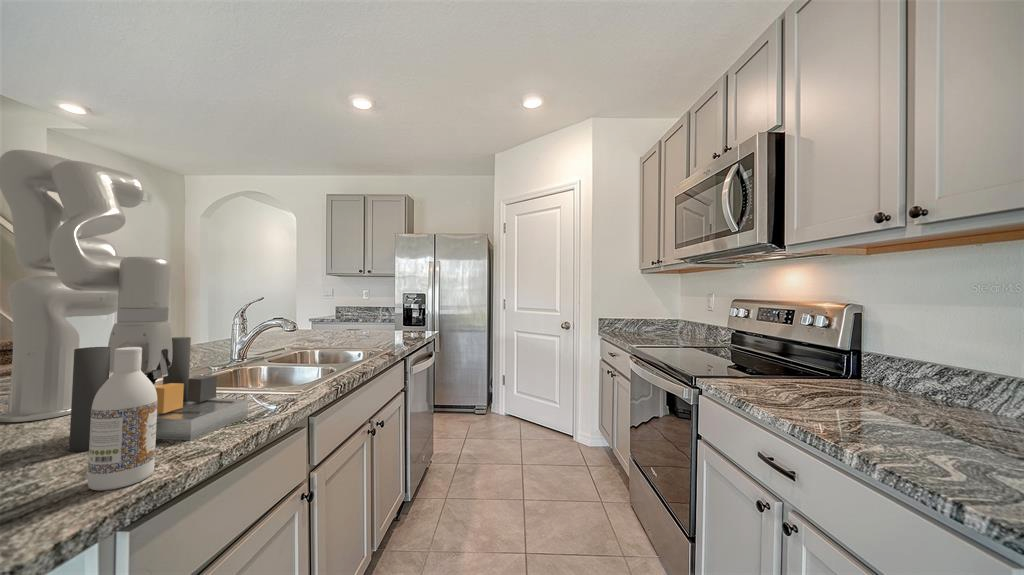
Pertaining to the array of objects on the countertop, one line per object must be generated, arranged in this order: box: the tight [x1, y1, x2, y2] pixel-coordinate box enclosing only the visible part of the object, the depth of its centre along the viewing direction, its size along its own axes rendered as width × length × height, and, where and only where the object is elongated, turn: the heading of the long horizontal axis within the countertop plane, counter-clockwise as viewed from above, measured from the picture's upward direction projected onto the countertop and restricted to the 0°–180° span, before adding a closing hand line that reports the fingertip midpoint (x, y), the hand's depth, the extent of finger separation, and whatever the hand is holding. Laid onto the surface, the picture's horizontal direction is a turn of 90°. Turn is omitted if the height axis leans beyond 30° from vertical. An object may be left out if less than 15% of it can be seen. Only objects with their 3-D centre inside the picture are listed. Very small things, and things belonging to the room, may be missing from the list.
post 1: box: [68, 346, 111, 453], centre depth 67 cm, size 4×4×18 cm
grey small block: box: [187, 374, 218, 402], centre depth 83 cm, size 3×4×5 cm
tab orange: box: [154, 383, 184, 413], centre depth 75 cm, size 3×4×5 cm
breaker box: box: [156, 397, 249, 441], centre depth 78 cm, size 12×14×4 cm
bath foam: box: [87, 347, 158, 491], centre depth 56 cm, size 7×7×20 cm
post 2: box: [162, 336, 192, 402], centre depth 84 cm, size 4×4×18 cm
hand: (139, 405), depth 76 cm, fingers closed
